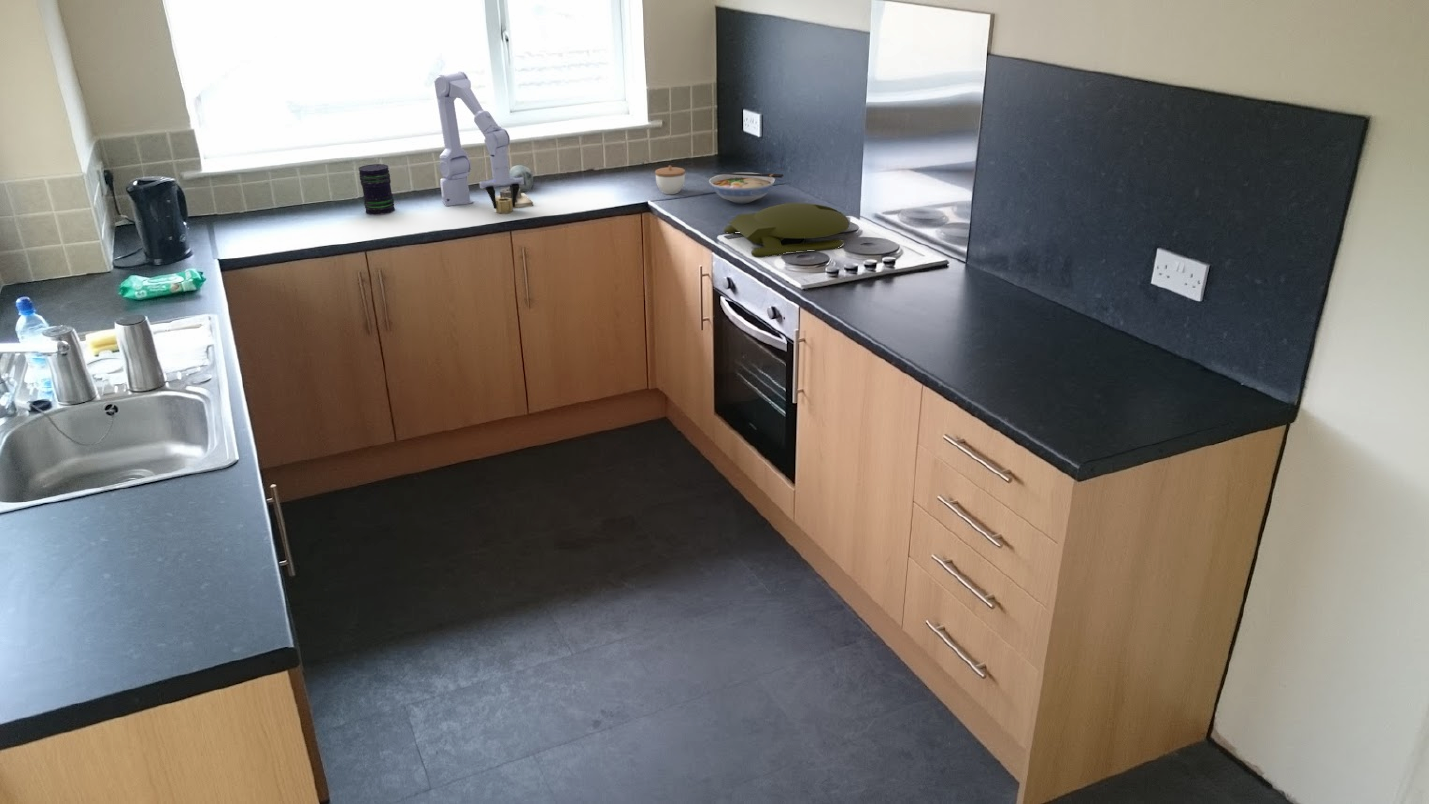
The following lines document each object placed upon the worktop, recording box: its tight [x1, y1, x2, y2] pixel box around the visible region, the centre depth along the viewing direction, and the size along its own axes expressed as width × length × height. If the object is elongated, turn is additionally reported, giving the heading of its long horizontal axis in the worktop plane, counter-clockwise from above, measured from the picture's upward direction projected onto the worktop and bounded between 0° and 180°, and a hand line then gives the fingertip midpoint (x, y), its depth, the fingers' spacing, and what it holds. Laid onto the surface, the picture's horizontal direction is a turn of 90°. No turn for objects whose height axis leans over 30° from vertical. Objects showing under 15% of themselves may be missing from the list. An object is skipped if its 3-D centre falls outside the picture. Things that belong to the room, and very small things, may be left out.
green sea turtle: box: [724, 202, 850, 258], centre depth 313 cm, size 35×31×10 cm
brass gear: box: [495, 198, 514, 214], centre depth 349 cm, size 6×6×4 cm
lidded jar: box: [654, 165, 686, 195], centre depth 368 cm, size 11×11×9 cm
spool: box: [509, 164, 534, 192], centre depth 377 cm, size 14×10×10 cm
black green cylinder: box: [358, 163, 396, 216], centre depth 350 cm, size 10×10×15 cm
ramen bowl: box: [708, 172, 784, 205], centre depth 354 cm, size 25×23×8 cm
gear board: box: [495, 186, 534, 209], centre depth 359 cm, size 11×14×4 cm
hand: (504, 207), depth 349 cm, fingers closed on brass gear, 6 cm apart
